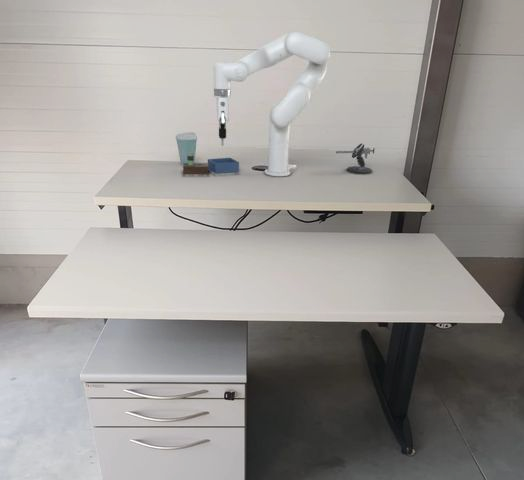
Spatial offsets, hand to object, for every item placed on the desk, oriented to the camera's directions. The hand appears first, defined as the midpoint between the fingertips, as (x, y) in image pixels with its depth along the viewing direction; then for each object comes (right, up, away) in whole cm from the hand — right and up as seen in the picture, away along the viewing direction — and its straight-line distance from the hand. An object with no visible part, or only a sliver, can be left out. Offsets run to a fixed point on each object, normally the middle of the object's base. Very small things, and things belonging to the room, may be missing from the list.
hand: (222, 136), depth 233 cm
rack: (-13, -16, +3) cm, 21 cm away
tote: (0, -14, +9) cm, 16 cm away
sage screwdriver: (-15, -16, +3) cm, 22 cm away
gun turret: (+65, -9, +20) cm, 69 cm away
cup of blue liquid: (-19, -6, +20) cm, 28 cm away
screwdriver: (0, -3, +2) cm, 4 cm away
